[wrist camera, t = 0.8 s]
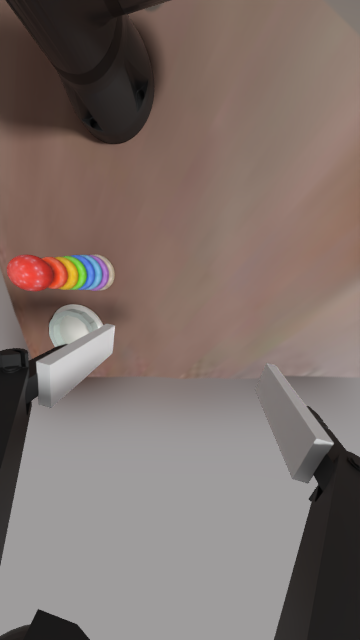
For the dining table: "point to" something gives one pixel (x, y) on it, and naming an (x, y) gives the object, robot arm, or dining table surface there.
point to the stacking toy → (61, 272)
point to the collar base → (72, 324)
